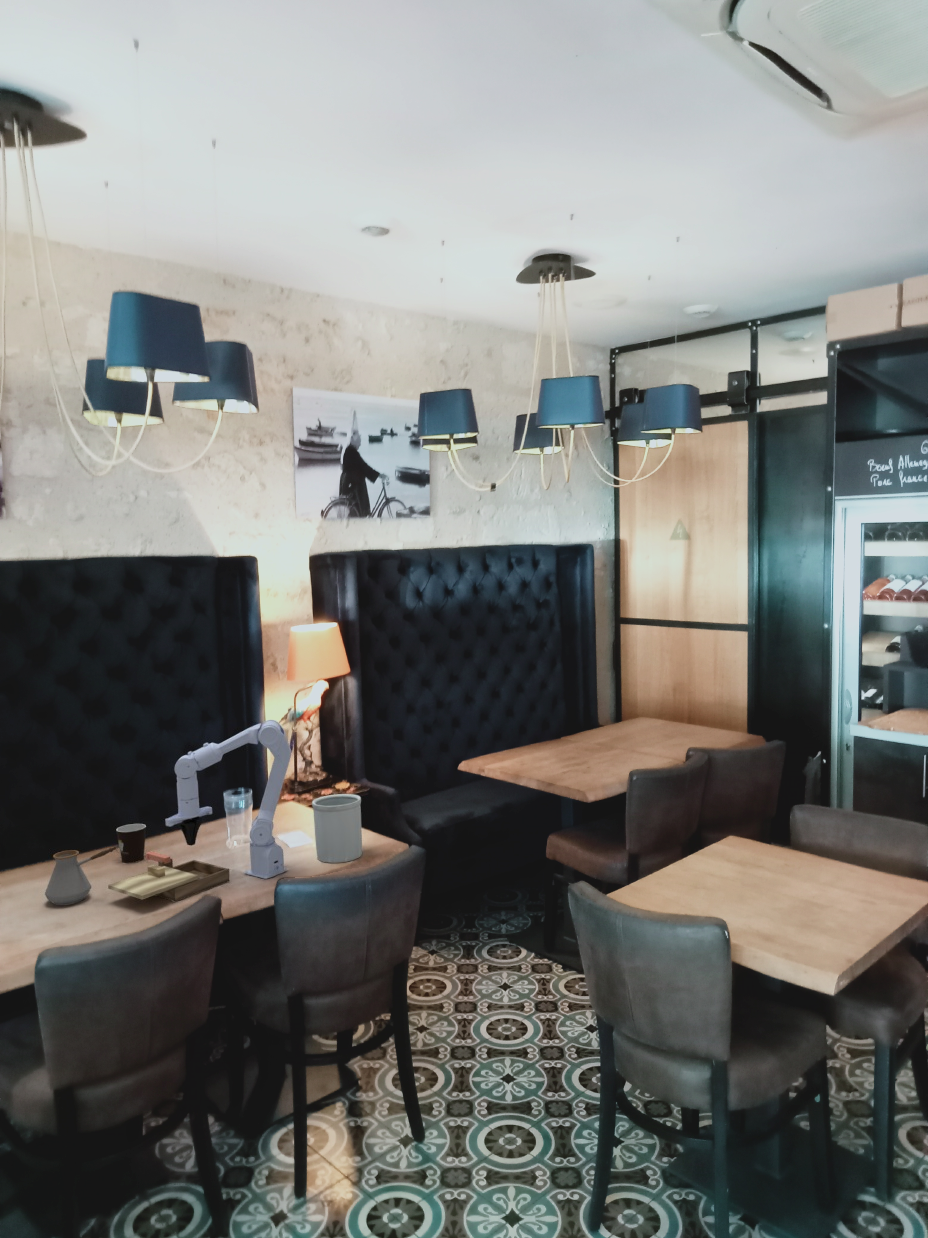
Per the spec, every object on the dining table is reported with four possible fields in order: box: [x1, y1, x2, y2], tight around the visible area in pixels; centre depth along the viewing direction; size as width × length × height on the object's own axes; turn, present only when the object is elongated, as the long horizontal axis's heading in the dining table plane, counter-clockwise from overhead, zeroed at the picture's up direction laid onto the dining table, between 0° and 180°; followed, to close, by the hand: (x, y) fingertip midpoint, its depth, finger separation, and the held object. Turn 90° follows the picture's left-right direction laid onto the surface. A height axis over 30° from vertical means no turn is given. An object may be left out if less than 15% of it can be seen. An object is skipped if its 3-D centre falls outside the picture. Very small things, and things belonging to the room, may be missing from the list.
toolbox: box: [155, 857, 230, 902], centre depth 244 cm, size 18×18×6 cm
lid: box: [107, 864, 198, 900], centre depth 236 cm, size 15×17×3 cm
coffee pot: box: [44, 845, 122, 906], centre depth 235 cm, size 21×12×15 cm, turn 84°
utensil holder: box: [311, 793, 363, 864], centre depth 265 cm, size 15×15×18 cm
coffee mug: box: [116, 823, 147, 864], centre depth 270 cm, size 12×9×10 cm
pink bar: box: [144, 850, 171, 864], centre depth 251 cm, size 9×2×2 cm, turn 54°
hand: (191, 844), depth 249 cm, fingers closed
